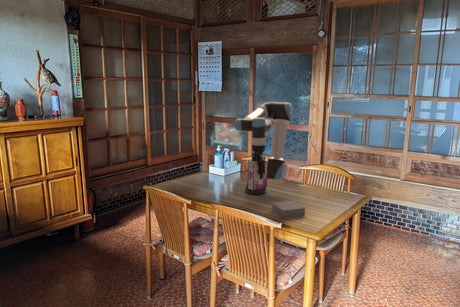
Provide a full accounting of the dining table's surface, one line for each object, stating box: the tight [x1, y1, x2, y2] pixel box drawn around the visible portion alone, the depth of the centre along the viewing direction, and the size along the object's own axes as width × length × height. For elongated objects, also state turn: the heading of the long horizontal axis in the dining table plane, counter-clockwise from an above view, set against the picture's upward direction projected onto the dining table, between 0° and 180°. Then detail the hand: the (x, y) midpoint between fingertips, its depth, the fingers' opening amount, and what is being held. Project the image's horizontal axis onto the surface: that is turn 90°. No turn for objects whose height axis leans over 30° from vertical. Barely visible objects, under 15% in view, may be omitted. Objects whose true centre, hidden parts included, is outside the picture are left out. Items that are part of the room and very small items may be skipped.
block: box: [271, 200, 306, 219], centre depth 206 cm, size 14×14×5 cm
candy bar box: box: [247, 160, 268, 190], centre depth 207 cm, size 11×5×16 cm, turn 128°
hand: (257, 182), depth 208 cm, fingers closed on candy bar box, 6 cm apart
